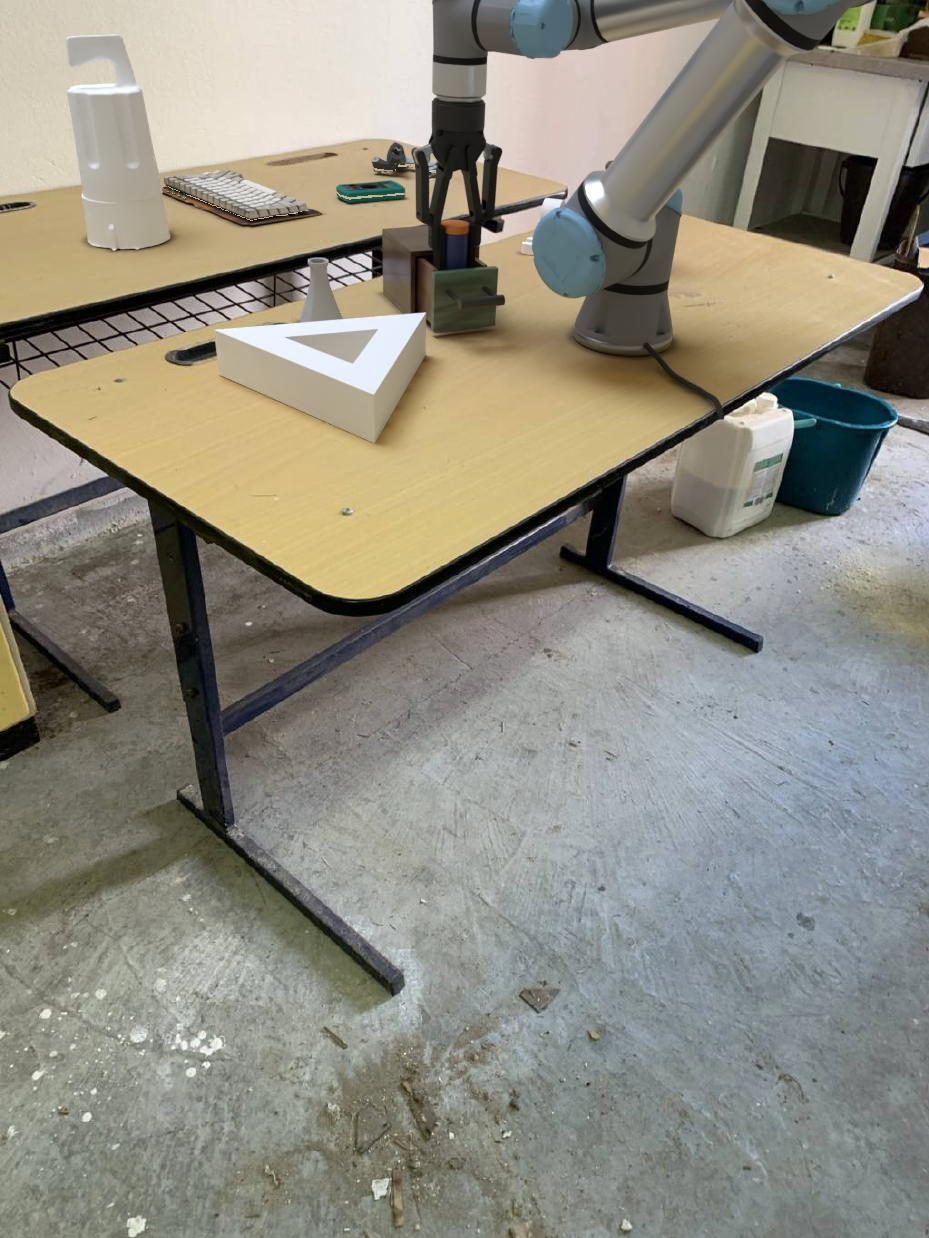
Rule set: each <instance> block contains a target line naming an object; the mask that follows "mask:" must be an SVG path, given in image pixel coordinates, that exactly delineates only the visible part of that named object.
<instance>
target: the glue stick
mask: <svg viewBox="0 0 929 1238" xmlns="http://www.w3.org/2000/svg"><path fill="white" fill-rule="evenodd" d="M440 225H441V226H443V227H444V228H445V262H444V270H455V269H467V259H468V235H469V223H468V222H467V221H466V220H461V219H446V220H441V224H440Z"/></svg>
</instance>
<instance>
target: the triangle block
mask: <svg viewBox="0 0 929 1238" xmlns="http://www.w3.org/2000/svg"><path fill="white" fill-rule="evenodd" d="M213 334H214V343H215V352H216V358H217V368H218V375H219V376H221V377H223V378H226V379H228V380H230V381H233V382H234V383H237V384H239V385H241V386H244V387H245V388H248V389H250V390H253V391H255V392H258V393H260V394H262V395H264V396H266V397H268V398H271V399H273V400H275V401H276V402H277V401H278V402H280V403H282V404H284V405H286V406H289V407H290V408H293V409H296V410H298V411H300V412H302V413H304V414H307V415H310V416H311V417H314V418H316V419H318V420H321V421H323V422H324V423H327V424H329V425H332V426H333V427H336V428H339V429H341V430H343V431H345V432H348V433H350V434H352V435H354V436H357V437H359V438H362V439H364V440H366V441H368V442H370V443H372V444H376V442H377V441H378V439H379V437H380V435H381V433H382V431H383V430H384V429H385V426H386V425H387V424H388V421H389V420H390V418H391V416H392V414H393V412H394V411H395V409H396V408H397V405H398V404H399V403H400V401H401V399H402V397H403V395H404V394H405V392H406V390H407V388H408V387H409V385H410V383H411V381H412V379H413V378H414V376H415V374H416V373H417V371H418V369H419V367H420V365H421V364H422V362H423V361H424V359H425V357H426V355H427V354H426V351H427V349H426V348H427V347H426V346H427V344H426V343H427V319H426V312H425V313H413V314H404V313H402V314H388V315H378V316H367V317H366V316H365V317H354V318H343V319H339V320H327V321H315V322H303V323H300V322H293V323H280V324H278V323H277V324H267V325H254V326H244V327H232V328H230V327H229V328H219V329H213Z"/></svg>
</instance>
